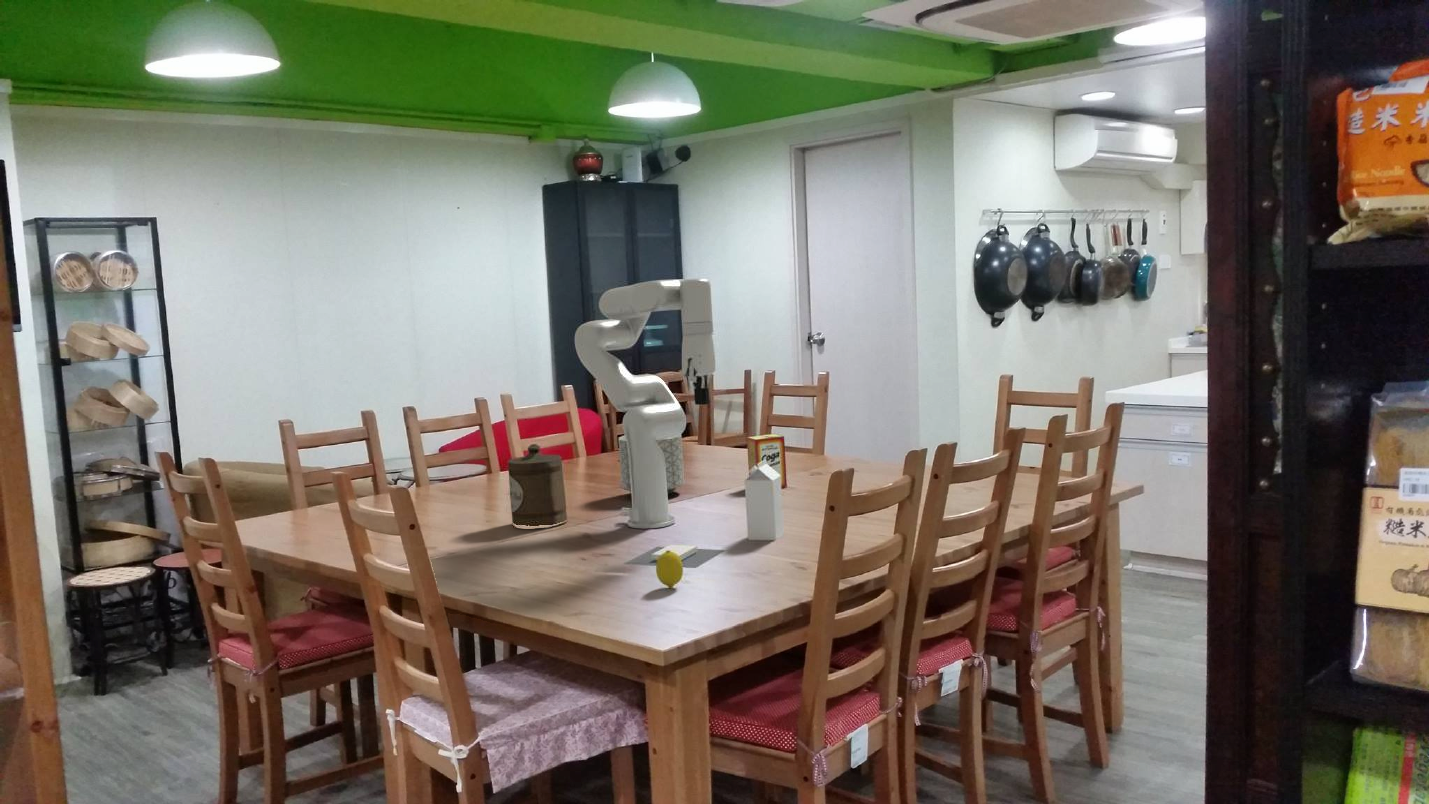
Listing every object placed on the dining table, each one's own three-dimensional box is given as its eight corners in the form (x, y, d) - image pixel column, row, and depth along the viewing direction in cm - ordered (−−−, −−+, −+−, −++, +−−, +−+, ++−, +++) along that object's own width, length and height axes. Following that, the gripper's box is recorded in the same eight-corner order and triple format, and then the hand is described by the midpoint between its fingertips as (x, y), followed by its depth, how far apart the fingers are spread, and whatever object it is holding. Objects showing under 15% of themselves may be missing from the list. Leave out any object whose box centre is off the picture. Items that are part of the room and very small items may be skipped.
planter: (683, 499, 322) (679, 438, 320) (619, 503, 323) (615, 442, 321) (686, 487, 341) (682, 430, 339) (625, 491, 342) (621, 433, 340)
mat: (624, 566, 247) (624, 563, 247) (657, 549, 262) (657, 546, 262) (695, 570, 240) (695, 567, 240) (725, 552, 254) (725, 550, 254)
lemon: (657, 585, 229) (654, 548, 228) (683, 583, 230) (680, 546, 229) (657, 592, 224) (655, 554, 223) (684, 590, 224) (682, 552, 223)
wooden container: (514, 520, 306) (508, 443, 304) (567, 516, 308) (562, 439, 306) (510, 531, 292) (504, 450, 289) (566, 527, 293) (560, 446, 291)
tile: (670, 551, 256) (652, 561, 248) (669, 544, 256) (651, 554, 248) (697, 553, 253) (679, 562, 245) (696, 546, 253) (679, 555, 245)
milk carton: (784, 535, 268) (779, 459, 266) (776, 542, 261) (771, 464, 259) (756, 535, 270) (752, 459, 268) (747, 541, 264) (743, 464, 262)
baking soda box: (758, 491, 329) (755, 438, 327) (749, 487, 335) (746, 436, 333) (786, 487, 332) (784, 435, 330) (777, 484, 338) (775, 433, 336)
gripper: (697, 328, 275) (701, 400, 277) (670, 332, 262) (674, 408, 264) (724, 327, 272) (728, 400, 274) (698, 330, 259) (702, 407, 261)
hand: (702, 404), depth 269 cm, fingers closed
